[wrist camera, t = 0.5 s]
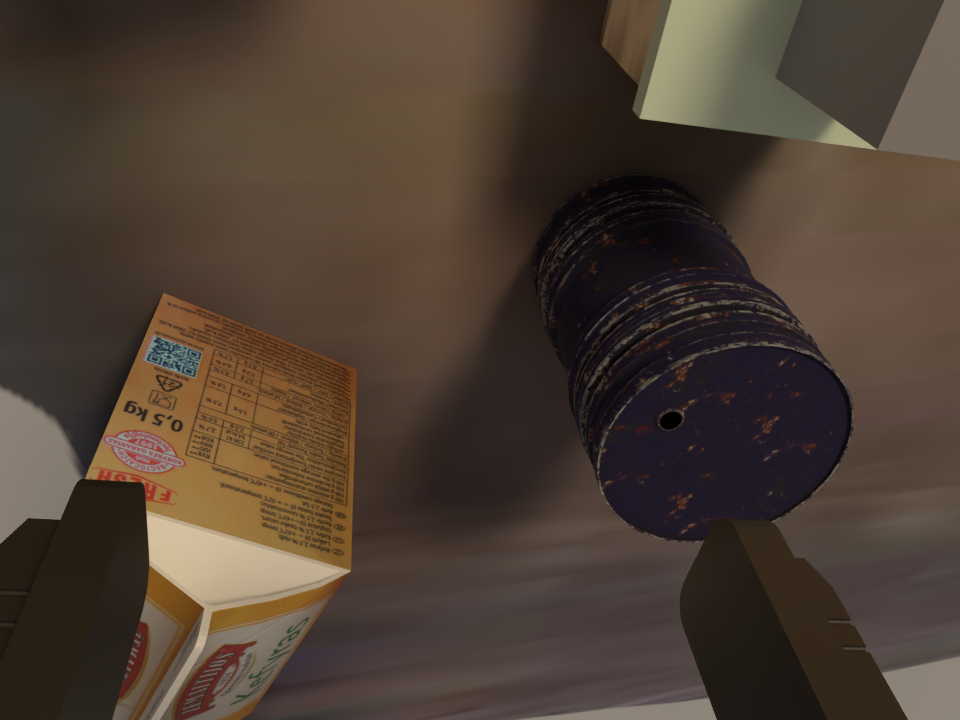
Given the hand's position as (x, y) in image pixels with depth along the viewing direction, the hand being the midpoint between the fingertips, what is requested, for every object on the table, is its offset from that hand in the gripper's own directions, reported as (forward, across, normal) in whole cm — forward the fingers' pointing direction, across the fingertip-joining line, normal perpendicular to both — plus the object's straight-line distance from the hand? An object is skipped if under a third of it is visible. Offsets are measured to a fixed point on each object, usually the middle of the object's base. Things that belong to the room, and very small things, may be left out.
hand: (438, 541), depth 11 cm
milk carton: (+28, +7, +21) cm, 36 cm away
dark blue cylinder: (+28, -13, +9) cm, 33 cm away
